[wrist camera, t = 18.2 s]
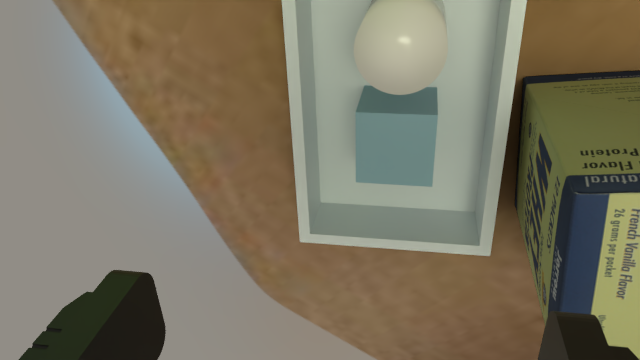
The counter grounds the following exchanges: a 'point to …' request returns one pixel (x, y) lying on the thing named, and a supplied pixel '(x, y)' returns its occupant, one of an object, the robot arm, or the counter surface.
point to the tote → (451, 138)
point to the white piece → (402, 44)
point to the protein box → (583, 196)
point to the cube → (396, 137)
